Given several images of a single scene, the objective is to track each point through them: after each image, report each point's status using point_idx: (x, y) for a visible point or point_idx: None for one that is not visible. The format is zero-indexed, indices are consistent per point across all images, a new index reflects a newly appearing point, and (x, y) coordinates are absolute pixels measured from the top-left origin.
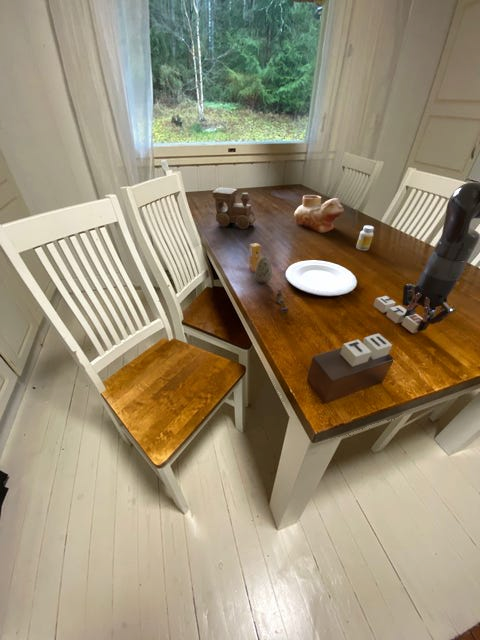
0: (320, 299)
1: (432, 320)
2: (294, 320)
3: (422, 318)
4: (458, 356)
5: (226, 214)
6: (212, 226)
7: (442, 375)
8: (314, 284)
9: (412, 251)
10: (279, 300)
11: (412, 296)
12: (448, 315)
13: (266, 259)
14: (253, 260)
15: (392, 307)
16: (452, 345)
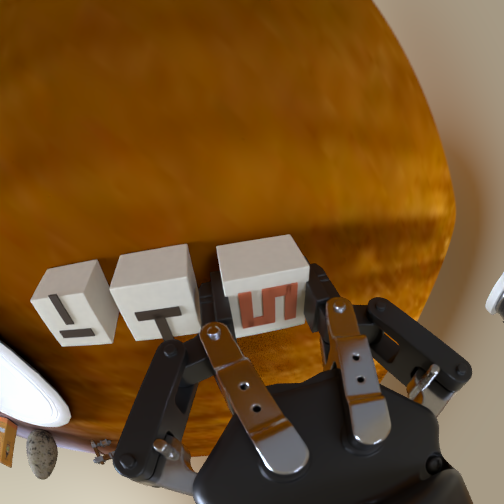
0: (72, 401)
1: (372, 346)
2: None
3: (275, 274)
4: (422, 199)
5: None
6: None
7: (418, 291)
8: (17, 392)
9: None
10: (105, 445)
11: (172, 395)
12: (437, 340)
13: (43, 477)
14: (13, 444)
15: (132, 330)
16: (391, 168)
